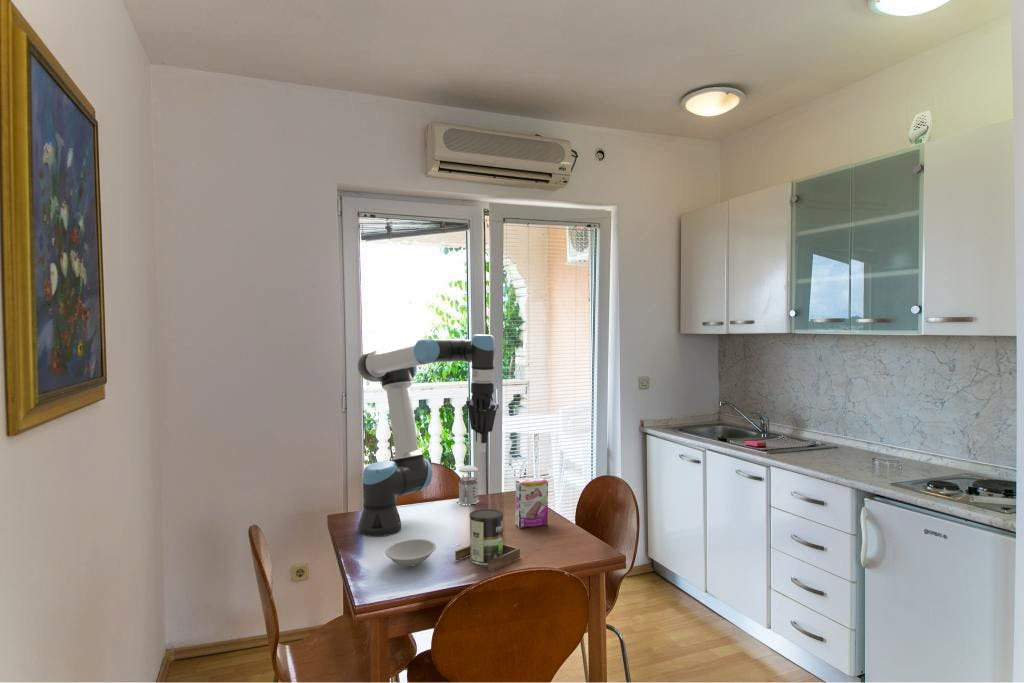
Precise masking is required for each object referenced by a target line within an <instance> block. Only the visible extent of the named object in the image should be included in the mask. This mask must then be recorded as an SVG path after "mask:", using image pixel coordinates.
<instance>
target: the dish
mask: <svg viewBox="0 0 1024 683" xmlns="http://www.w3.org/2000/svg"><path fill="white" fill-rule="evenodd" d="M436 548H437V546H436V543H435V542H433V541H432V540H430V539H423V538H409V539H405V540H404V539H403V540H400V541H398V542H395V543H393V544H391V545H389V546H388V547H387V548H386V550H385V556H386V557H387V558H389V560H391V561H392V562H393V563H395V564H396V565H399V566H401V567H413V566H417V565H420V564H422V563H423V562H425V561H427V559H428V558H429V557H430V556H431V555H432V553H434V552H435V550H436Z"/></svg>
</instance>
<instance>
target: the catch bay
mask: <svg viewBox="0 0 1024 683" xmlns="http://www.w3.org/2000/svg"><path fill="white" fill-rule="evenodd" d="M454 553H455V555H454V556H455V560H459V559H461V558H464V557H466V556H469V555H470V544H469V545H467V546H465V547H462V548H459V549H457V550H455V552H454ZM469 557H470V556H469ZM466 558H467V557H466ZM518 558H520V559H521V548H519V547H516V546H513V545H509V544H505V543H503V555H502V556H499V557H497V558H495V559H492V560H490V561H488V565H487V571H488V572H487V573H492V572H493V570H494V571H496V570H497V569H500V568H502V567H504V566H506V565H505V564H507V565H508V563H509V564H511V563H513V562H515V561H517V560H519V559H518ZM464 559H465V558H464ZM516 559H517V560H516ZM455 560H454V561H455ZM461 560H462V559H461ZM514 560H515V561H514ZM459 561H460V560H459ZM512 561H513V562H512ZM510 562H511V563H510Z"/></svg>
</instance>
